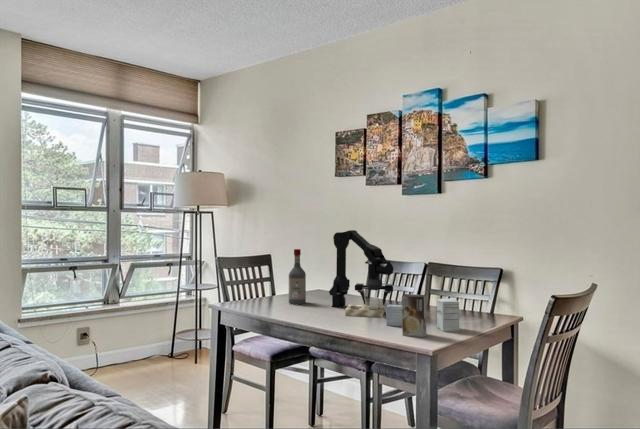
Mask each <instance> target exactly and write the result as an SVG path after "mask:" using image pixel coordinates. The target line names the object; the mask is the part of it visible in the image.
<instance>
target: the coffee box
mask: <svg viewBox="0 0 640 429" xmlns="http://www.w3.org/2000/svg"><path fill="white" fill-rule="evenodd" d="M401 305H402V326H401V329H402V336H405V337H406V336H407V337H416V338H417V337H419V338H426V335H427V334H428V331H427V295H426V294H413V293H404V294H402V296H401Z"/></svg>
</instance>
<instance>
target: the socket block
mask: <svg viewBox="0 0 640 429" xmlns="http://www.w3.org/2000/svg"><path fill="white" fill-rule="evenodd" d="M344 314H345V315H344V316H346V317H347V316H348V317H370V318H371V317H372V318H374V317H376V318H383V317H384V314H385V305H378V309H370V304H369V305H368V304H365V305H364V304H348V305H347V307H346V308H345V312H344Z"/></svg>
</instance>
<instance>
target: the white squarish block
mask: <svg viewBox="0 0 640 429" xmlns="http://www.w3.org/2000/svg"><path fill="white" fill-rule="evenodd" d="M369 305H370V309H378V306H379V297H374V296H373V297H372V296H370V297H369Z"/></svg>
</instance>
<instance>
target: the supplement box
mask: <svg viewBox="0 0 640 429" xmlns="http://www.w3.org/2000/svg"><path fill="white" fill-rule="evenodd" d="M436 314H437V316H436V328H437V329H439V330H441V332H445V333H446V332H448V333H449V332H460V301H459V300H457V299H454V298H437V299H436Z"/></svg>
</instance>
